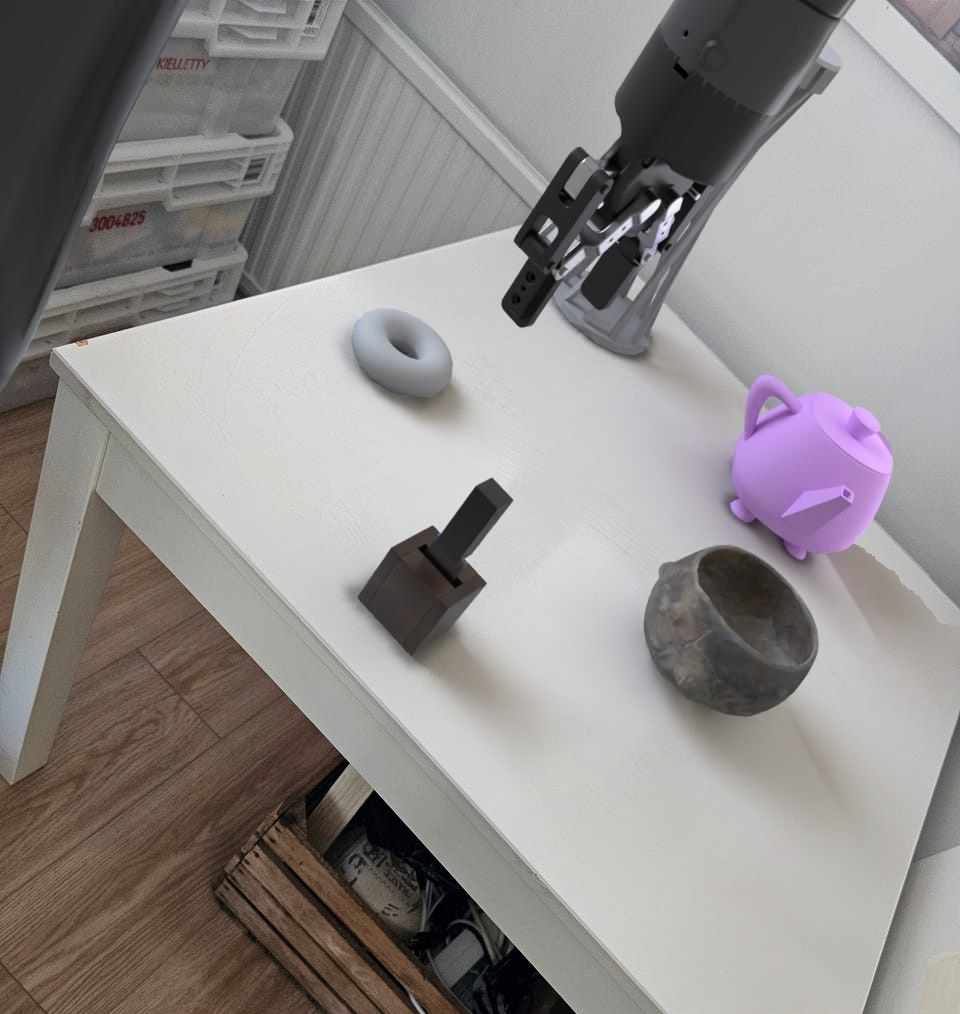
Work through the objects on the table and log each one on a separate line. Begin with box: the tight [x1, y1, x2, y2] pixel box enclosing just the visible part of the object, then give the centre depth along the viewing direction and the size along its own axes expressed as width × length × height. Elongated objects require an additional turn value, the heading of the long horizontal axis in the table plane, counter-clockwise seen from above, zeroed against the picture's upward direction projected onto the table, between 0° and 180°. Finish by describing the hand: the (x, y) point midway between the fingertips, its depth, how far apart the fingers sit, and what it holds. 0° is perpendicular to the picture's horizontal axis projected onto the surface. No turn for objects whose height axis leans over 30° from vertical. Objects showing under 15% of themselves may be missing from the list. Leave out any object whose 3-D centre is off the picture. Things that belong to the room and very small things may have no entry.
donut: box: [350, 307, 454, 398], centre depth 95 cm, size 10×4×10 cm
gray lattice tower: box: [552, 41, 844, 356], centre depth 112 cm, size 14×13×35 cm
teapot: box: [730, 374, 894, 560], centre depth 109 cm, size 20×20×15 cm
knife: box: [423, 477, 514, 585], centre depth 74 cm, size 3×2×14 cm, turn 51°
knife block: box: [357, 524, 488, 656], centre depth 77 cm, size 6×5×6 cm
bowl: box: [643, 544, 819, 718], centre depth 89 cm, size 14×15×10 cm
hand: (554, 308), depth 63 cm, fingers open, 8 cm apart
